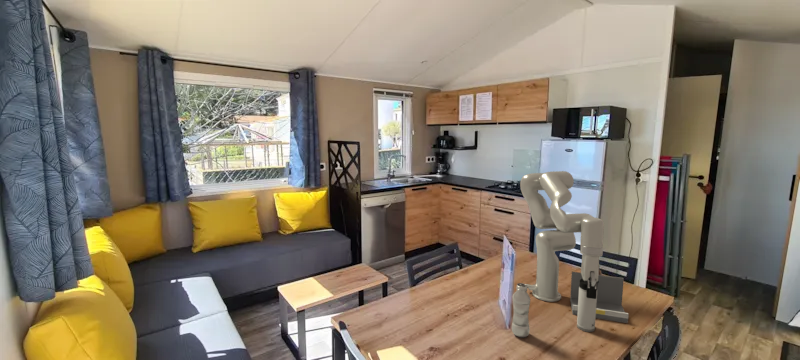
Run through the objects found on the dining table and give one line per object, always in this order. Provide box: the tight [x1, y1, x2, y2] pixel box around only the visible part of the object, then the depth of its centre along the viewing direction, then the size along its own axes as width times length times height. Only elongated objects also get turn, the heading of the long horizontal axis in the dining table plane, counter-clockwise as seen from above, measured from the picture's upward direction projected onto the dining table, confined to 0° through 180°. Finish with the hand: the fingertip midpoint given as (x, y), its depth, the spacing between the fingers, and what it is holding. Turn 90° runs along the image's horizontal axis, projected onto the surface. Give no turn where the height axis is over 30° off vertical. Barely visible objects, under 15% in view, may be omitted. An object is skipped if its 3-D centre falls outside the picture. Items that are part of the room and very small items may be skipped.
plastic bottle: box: [511, 282, 531, 338], centre depth 131 cm, size 6×7×20 cm
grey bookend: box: [569, 271, 629, 324], centre depth 148 cm, size 20×13×14 cm, turn 68°
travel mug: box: [576, 279, 599, 333], centre depth 135 cm, size 6×7×20 cm
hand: (589, 292), depth 134 cm, fingers open, 9 cm apart
